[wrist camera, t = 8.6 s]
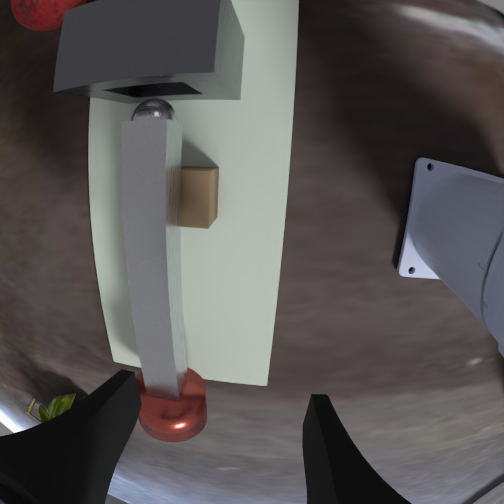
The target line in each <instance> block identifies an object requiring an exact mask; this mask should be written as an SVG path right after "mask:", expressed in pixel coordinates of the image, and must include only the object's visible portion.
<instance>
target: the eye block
mask: <svg viewBox="0 0 504 504" xmlns="http://www.w3.org/2000/svg"><path fill="white" fill-rule="evenodd" d="M244 41H245V37H244V34H243V31H242V28H241V26H240V23H239V20H238V17H237V15H236V12H235V9H234V7H233V4H232V1H231V0H97V1H94V2H90V3H87V4H84V5H81V6H78V7H75V8H72V9H69V10H66V11H65V16H64V20H63V25H62V30H61V36H60V41H59V47H58V54H57V61H56V68H55V77H54V87H53V92H54V93H63V94H71V95H78V96H85V97H92V98H98V99H105V100H110V101H116V102H122V103H127V104H131V103H142V102H144V101H146V100H149V99H162V100H164V101H175V100H240V99H241V84H242V69H243V55H244Z"/></svg>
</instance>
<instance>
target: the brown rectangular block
mask: <svg viewBox="0 0 504 504" xmlns="http://www.w3.org/2000/svg"><path fill="white" fill-rule="evenodd" d="M218 185H219V167H197V166H181V196H180V227H191V228H205V229H209V227H210V226H211V225H212V224H213V222H214V221H215V220H216V219H217V213H218Z"/></svg>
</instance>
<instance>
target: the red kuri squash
mask: <svg viewBox="0 0 504 504" xmlns="http://www.w3.org/2000/svg"><path fill="white" fill-rule="evenodd" d="M87 2H88V0H11V9H12V12H13V15H14V18H15V20H16V21H17V22H18V23H19V24H21V25H23V26H25V27H26V28H28V29H30V30H32V31H36V32H45V31H51V30H55V29H58V28H61V27H62V25H63V20H64V16H65V11H66V10H69V9H72V8H75V7H78V6H81V5H84V4H86V3H87Z"/></svg>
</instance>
